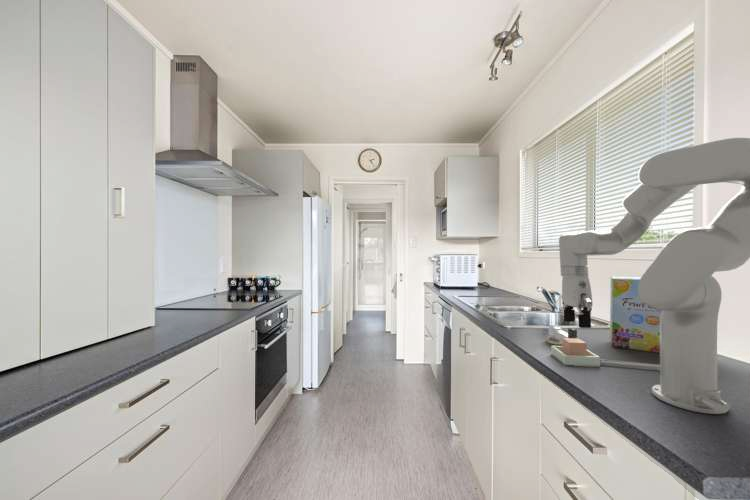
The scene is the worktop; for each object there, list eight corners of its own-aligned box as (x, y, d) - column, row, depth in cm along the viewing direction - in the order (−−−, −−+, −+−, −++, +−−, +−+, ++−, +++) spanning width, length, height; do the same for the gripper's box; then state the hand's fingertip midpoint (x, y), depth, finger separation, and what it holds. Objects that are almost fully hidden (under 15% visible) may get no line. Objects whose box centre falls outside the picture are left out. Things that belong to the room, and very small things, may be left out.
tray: (599, 366, 93) (599, 357, 93) (564, 365, 94) (564, 355, 94) (582, 355, 103) (582, 346, 103) (551, 354, 104) (551, 345, 104)
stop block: (586, 362, 96) (586, 343, 96) (569, 361, 96) (569, 342, 96) (578, 356, 101) (578, 338, 101) (562, 355, 101) (562, 337, 101)
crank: (546, 337, 120) (546, 319, 120) (558, 337, 119) (558, 319, 119) (567, 350, 104) (567, 330, 104) (581, 351, 103) (581, 330, 103)
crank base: (567, 345, 114) (567, 342, 114) (550, 344, 115) (550, 342, 115) (560, 340, 120) (560, 338, 120) (543, 340, 121) (543, 337, 121)
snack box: (611, 347, 111) (611, 277, 111) (609, 341, 118) (608, 275, 118) (695, 358, 99) (694, 280, 99) (686, 351, 106) (686, 278, 106)
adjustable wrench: (594, 366, 95) (594, 360, 95) (590, 359, 101) (590, 354, 101) (703, 379, 84) (702, 372, 84) (690, 370, 90) (690, 364, 90)
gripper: (602, 272, 89) (605, 330, 88) (573, 270, 106) (576, 319, 105) (574, 272, 90) (577, 330, 90) (550, 271, 107) (553, 319, 107)
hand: (576, 324), depth 98 cm, fingers open, 9 cm apart
